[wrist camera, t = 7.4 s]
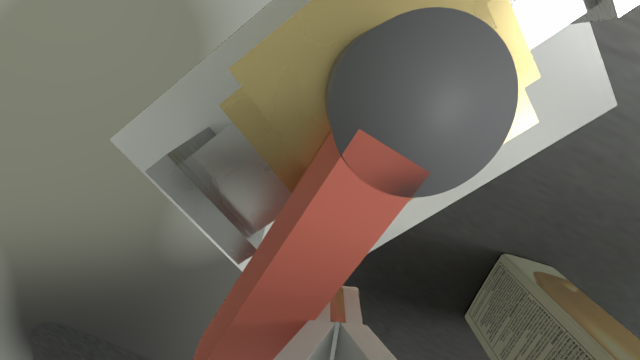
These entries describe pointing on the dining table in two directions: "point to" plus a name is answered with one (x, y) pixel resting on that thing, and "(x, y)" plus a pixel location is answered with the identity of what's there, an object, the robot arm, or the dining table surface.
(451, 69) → the lever
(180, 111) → the board
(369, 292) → the dining table surface
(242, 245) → the valve
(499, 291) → the skincare box
